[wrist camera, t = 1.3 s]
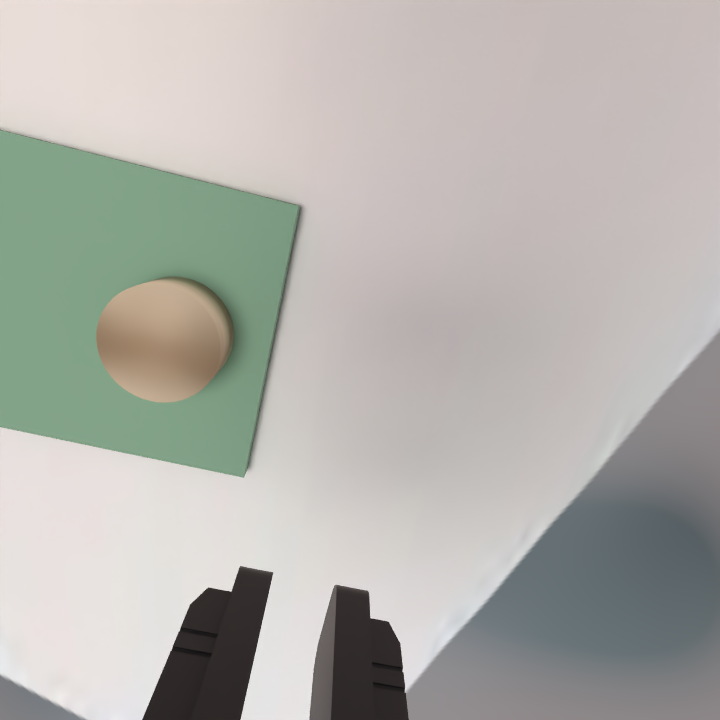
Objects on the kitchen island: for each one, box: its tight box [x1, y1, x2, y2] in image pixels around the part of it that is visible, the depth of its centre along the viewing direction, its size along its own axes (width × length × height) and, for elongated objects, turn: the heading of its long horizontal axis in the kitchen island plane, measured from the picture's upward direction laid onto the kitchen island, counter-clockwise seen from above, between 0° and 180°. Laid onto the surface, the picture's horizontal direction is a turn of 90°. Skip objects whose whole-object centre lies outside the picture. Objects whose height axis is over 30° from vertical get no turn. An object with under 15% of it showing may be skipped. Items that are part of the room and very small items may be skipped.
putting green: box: [0, 130, 300, 477], centre depth 27 cm, size 16×26×1 cm, turn 76°
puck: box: [96, 277, 234, 403], centre depth 26 cm, size 6×6×3 cm
